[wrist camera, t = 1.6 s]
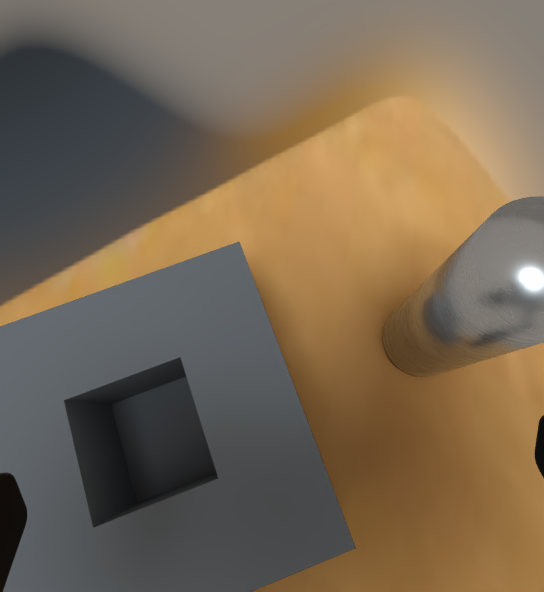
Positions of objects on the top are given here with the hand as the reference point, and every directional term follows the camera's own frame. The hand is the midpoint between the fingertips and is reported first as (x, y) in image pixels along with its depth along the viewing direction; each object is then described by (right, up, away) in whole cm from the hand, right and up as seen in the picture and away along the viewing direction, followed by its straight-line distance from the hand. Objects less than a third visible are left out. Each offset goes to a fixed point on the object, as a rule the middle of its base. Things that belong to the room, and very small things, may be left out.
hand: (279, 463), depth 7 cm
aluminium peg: (+8, 0, +16) cm, 18 cm away
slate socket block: (-5, -4, +15) cm, 17 cm away
